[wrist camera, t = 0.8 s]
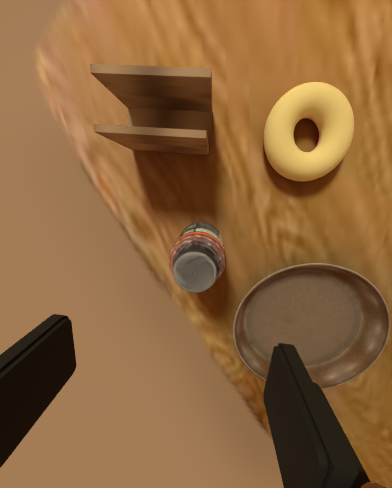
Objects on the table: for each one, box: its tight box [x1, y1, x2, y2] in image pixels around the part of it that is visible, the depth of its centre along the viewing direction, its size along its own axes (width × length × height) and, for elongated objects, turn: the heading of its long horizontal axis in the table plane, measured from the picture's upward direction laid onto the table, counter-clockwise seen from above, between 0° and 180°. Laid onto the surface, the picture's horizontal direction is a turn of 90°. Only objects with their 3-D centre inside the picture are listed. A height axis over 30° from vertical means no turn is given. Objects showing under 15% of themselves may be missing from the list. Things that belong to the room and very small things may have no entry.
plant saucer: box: [233, 263, 390, 390], centre depth 29 cm, size 21×21×3 cm
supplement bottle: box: [169, 222, 226, 293], centre depth 23 cm, size 6×6×11 cm
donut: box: [263, 82, 354, 181], centre depth 23 cm, size 10×5×9 cm
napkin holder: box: [90, 64, 212, 155], centre depth 21 cm, size 10×5×9 cm, turn 86°
